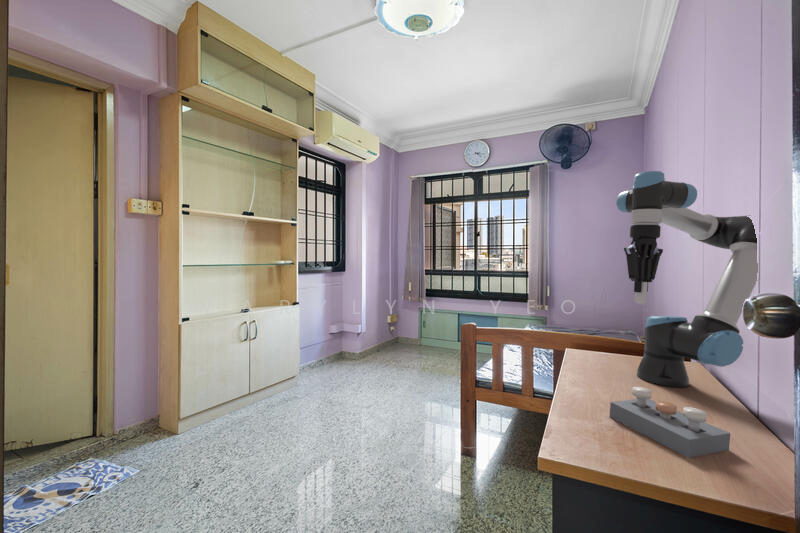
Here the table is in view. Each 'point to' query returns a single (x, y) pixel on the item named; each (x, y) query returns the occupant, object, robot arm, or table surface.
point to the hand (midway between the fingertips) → (639, 303)
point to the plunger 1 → (641, 396)
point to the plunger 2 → (694, 418)
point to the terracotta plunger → (666, 409)
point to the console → (670, 429)
